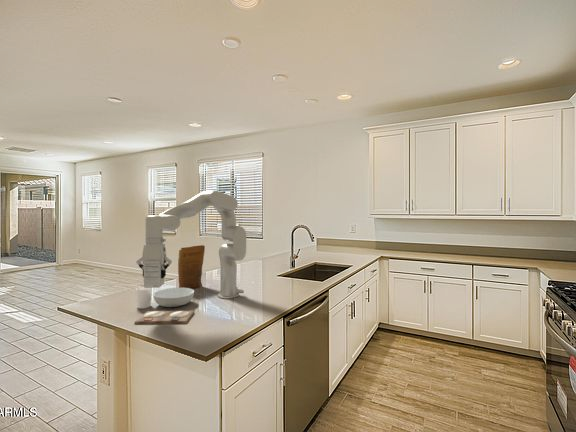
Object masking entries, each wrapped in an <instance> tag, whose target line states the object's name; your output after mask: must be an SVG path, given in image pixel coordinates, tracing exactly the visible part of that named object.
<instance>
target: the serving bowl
mask: <svg viewBox="0 0 576 432" xmlns="http://www.w3.org/2000/svg"><path fill="white" fill-rule="evenodd" d="M194 295H195V290H194V289H189V288H179V287H170V288H169V287H168V288H164V289H159V290H157V291H155V292H153V293H152V296H153V299H154V302H155V303H156V304H157V305H159V306H162V307H165V308H177V307H181V306H184V305H186V304H188V303H190V302H191V301H192V299H194Z"/></svg>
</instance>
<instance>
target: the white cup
mask: <svg viewBox="0 0 576 432" xmlns="http://www.w3.org/2000/svg"><path fill="white" fill-rule="evenodd" d="M152 292H153V288H144V285H143V286H139V287H136V288H135V302H136V308H137V309H147V308H150V307H151V305H152V296H153V293H152Z"/></svg>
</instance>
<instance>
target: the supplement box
mask: <svg viewBox="0 0 576 432" xmlns="http://www.w3.org/2000/svg"><path fill="white" fill-rule="evenodd" d="M143 265H144V277H143V286H144V288H152V289H154V288H155V289H157V288H161V287H162V286H164V285H165V277H164V278H161V270H162V268H161V263H160V261H144V264H143Z"/></svg>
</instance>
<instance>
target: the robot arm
mask: <svg viewBox="0 0 576 432" xmlns="http://www.w3.org/2000/svg"><path fill="white" fill-rule="evenodd" d="M238 205H239V203H238V200H237V198H236V197H234V196H233V195H230V194H227V193H224V192H222V191H218V190H203V191H201V192H199V193H198V194H196V195H195V196H192V198H190V199H188V200H187V201H184V202H183V203H182V202H181V203H180V204H177V205H176V206H173V207H171V208H169V209H167V210H165V211H164V212H161V213H160V214H158V215H148V216H146V217H145V243H144V244H143V249H142V255H141V257H140V258H139V259H138V260H136V262H135V263H136V264H137V265H138V267H139V268H140V269H141V270H142V277H143V278H144V261H160V263H161V268H162V270H161V278H164V279H165V277H166V275H167V273H166V272H167V271H166V270H168V267H170V266H171V264H172V262H173V261H172V259H170V258H169V257H167V250H166V245H165V244H166V243H164V242H166V238H164V237H163V235H164V233H163V232H164V231H163V230H165V231H175V230H177V229H178V228H180V226H181V220H182V219H186V218H192V217H194V216H196V215H198V214H200V213H201V212H202V211H204V210H206V209H207V208H208V207H212V208H213V209H215V211H217V213H218V214H219V216H220V218H221V238H222V240H223V241H225V242H230V243H223V244H221V246H219V249H218V256H219V263H220V266H219V267H220V270H219V271H220V274H219V275H220V277H219V279H220V291H219V293H218V294H217V298H220V299H224V300H225V299H228V300H229V299H234V298H235V299H236V298H238V297H239V296H240V294H244V293H245V292H244V290H245V289H243V288H240V289H239V288H238V286H237V273H238V271H237V267H238V266H237V262H239V261H240V262H241V261H243V260H244V259H245V258H246V255H247V231H246V230H245V228H244V227H242V226H240V225H237V218H236V213H235V212H234V211H235V210H236V209H237V208H238Z"/></svg>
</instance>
